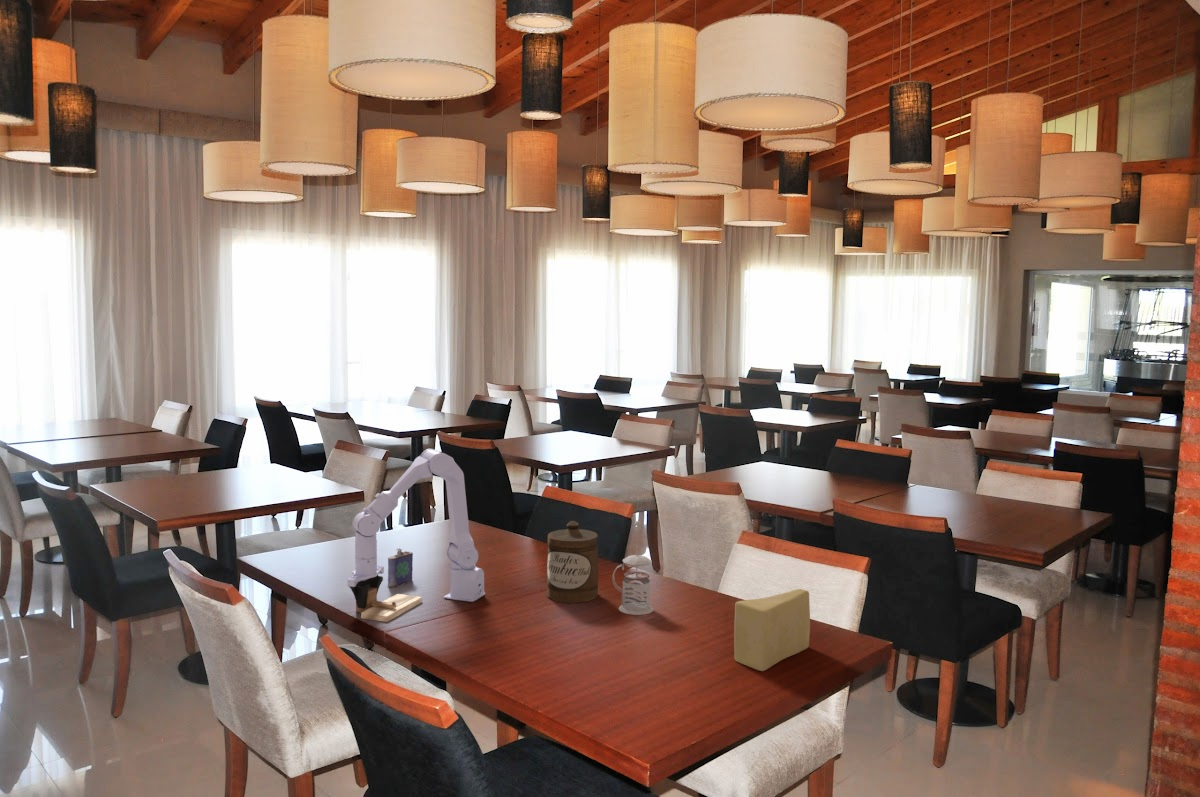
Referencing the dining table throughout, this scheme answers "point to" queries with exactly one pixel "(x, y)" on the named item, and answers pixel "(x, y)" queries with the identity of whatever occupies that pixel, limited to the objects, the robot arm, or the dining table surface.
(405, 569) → the flask
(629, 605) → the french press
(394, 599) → the board
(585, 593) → the wooden container
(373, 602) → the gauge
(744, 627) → the cheese
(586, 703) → the dining table surface
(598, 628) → the dining table surface
